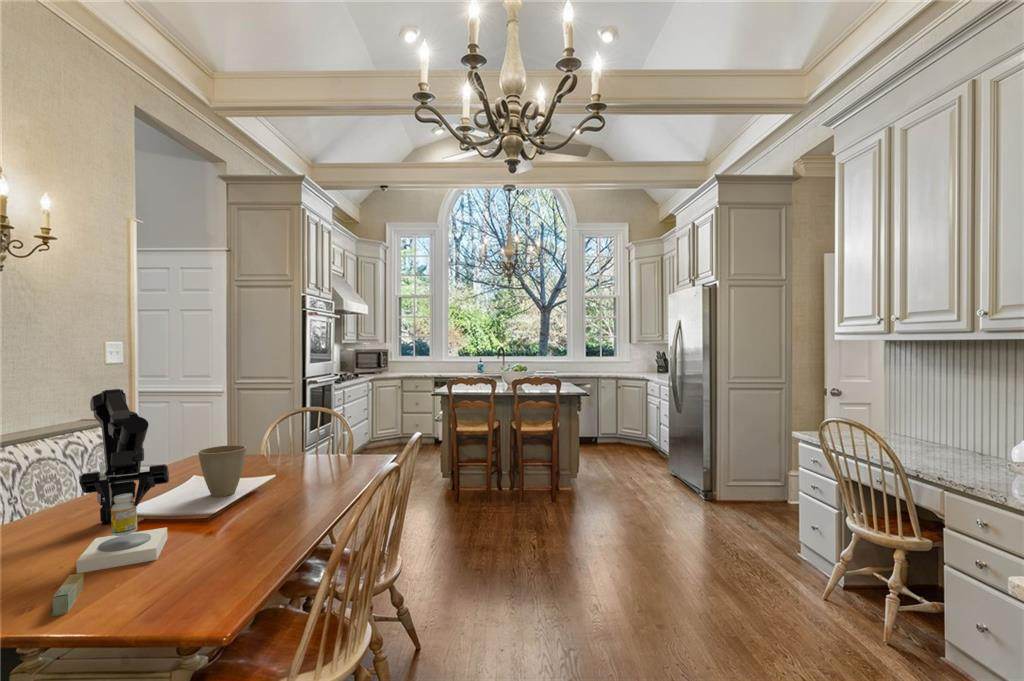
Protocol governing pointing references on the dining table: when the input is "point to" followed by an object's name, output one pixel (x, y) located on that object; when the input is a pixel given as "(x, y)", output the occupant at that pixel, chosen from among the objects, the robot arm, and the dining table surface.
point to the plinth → (122, 550)
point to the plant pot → (222, 468)
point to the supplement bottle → (123, 515)
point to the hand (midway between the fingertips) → (122, 507)
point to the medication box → (67, 594)
